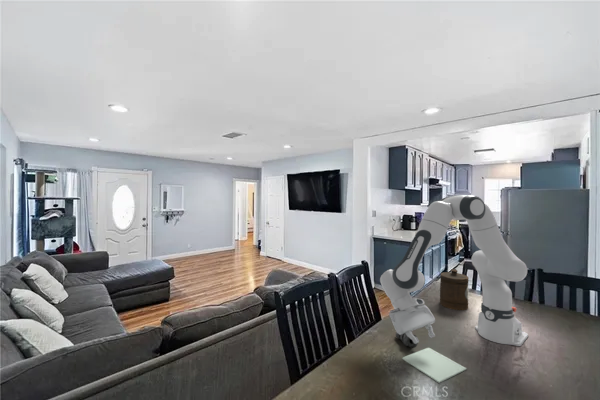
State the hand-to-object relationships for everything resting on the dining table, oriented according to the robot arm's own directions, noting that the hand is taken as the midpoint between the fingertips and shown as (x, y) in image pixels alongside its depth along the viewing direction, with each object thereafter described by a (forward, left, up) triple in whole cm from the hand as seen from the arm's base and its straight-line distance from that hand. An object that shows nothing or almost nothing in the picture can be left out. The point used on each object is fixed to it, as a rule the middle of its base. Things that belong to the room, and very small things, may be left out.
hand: (425, 339), depth 107 cm
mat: (-1, +3, -8) cm, 9 cm away
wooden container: (-64, -29, -9) cm, 71 cm away
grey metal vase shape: (-2, -7, -5) cm, 9 cm away
